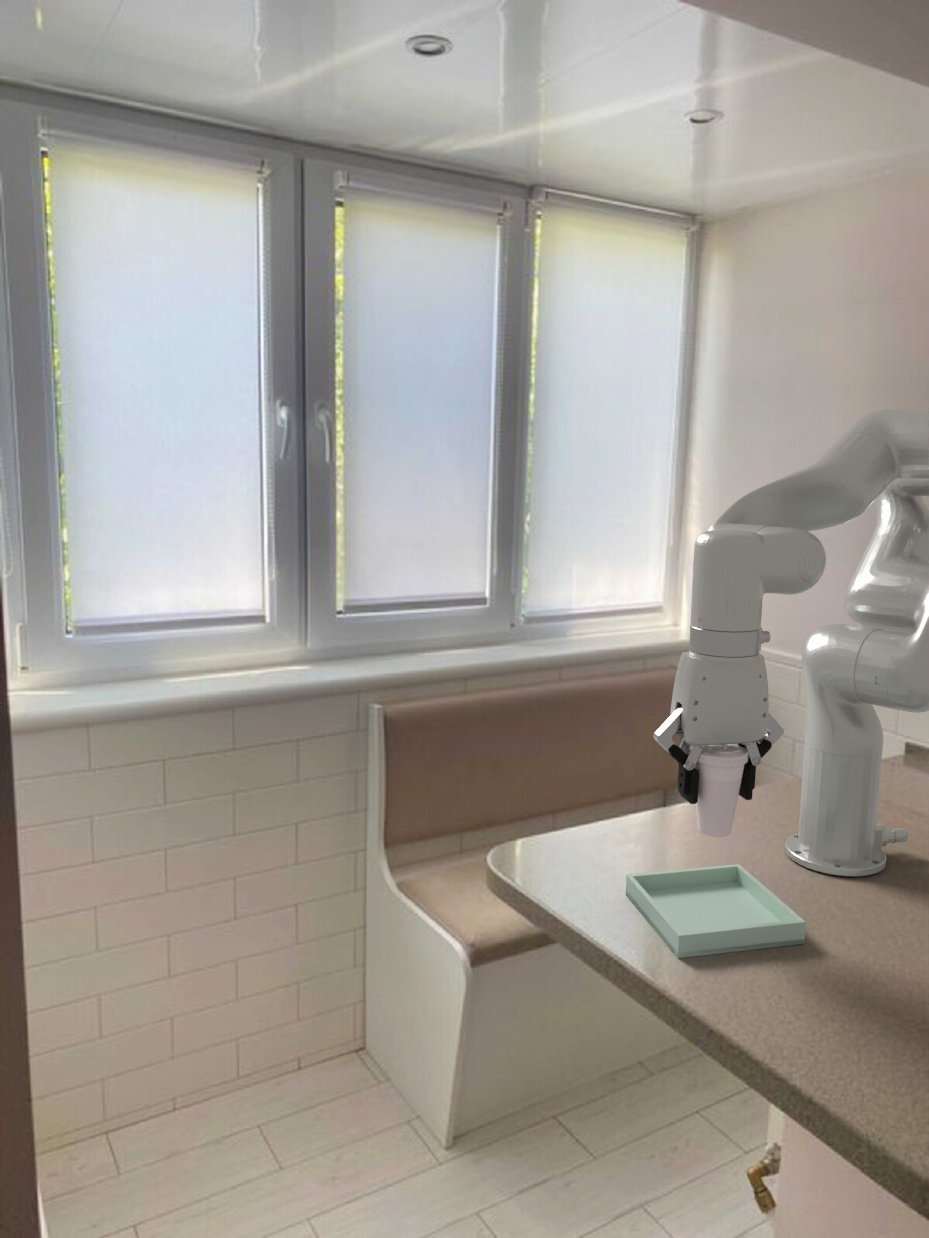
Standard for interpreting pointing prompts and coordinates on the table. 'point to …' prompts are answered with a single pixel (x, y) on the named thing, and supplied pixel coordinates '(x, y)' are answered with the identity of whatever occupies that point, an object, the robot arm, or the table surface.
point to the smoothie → (719, 787)
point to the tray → (713, 910)
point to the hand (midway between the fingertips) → (715, 796)
